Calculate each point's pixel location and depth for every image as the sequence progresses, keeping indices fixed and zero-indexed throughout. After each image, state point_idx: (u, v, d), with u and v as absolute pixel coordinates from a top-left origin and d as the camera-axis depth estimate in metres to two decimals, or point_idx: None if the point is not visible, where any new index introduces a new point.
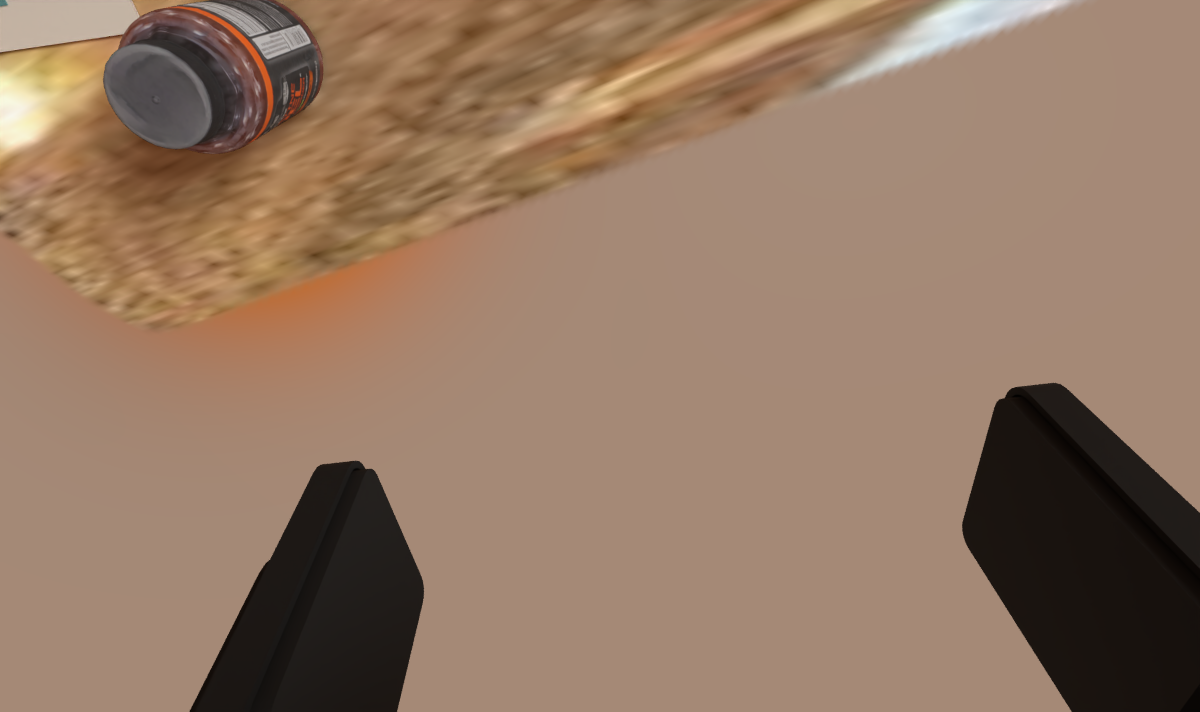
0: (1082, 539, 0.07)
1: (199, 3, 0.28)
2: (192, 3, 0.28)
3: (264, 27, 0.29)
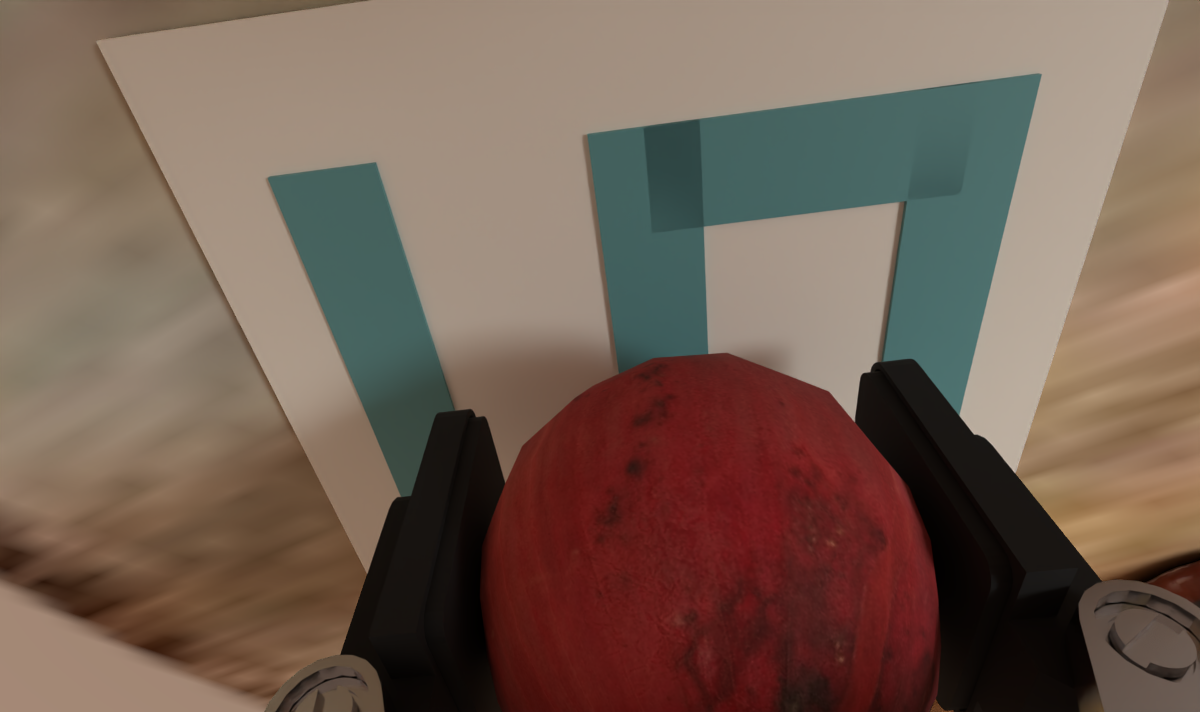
0: (914, 495, 0.08)
1: None
2: None
3: None
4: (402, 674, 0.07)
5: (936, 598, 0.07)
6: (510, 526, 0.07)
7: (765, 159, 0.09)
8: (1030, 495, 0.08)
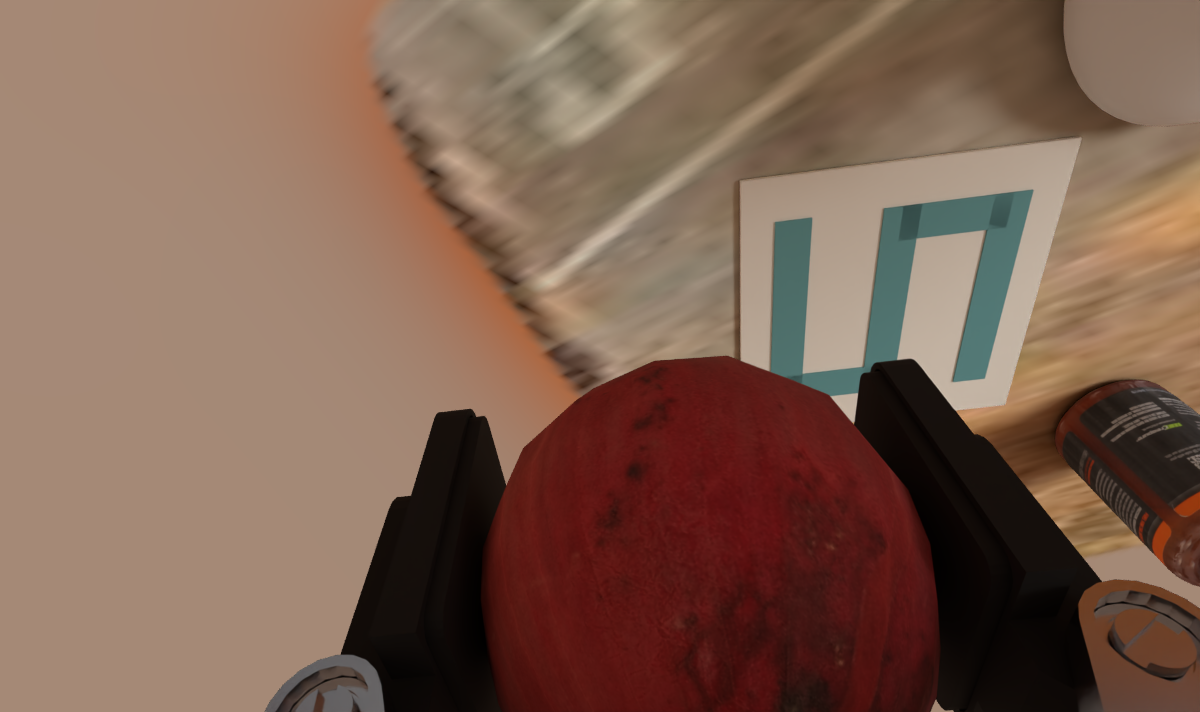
0: (913, 495, 0.08)
1: None
2: None
3: None
4: (403, 674, 0.07)
5: (935, 601, 0.07)
6: (511, 528, 0.07)
7: (940, 216, 0.28)
8: (1030, 495, 0.08)
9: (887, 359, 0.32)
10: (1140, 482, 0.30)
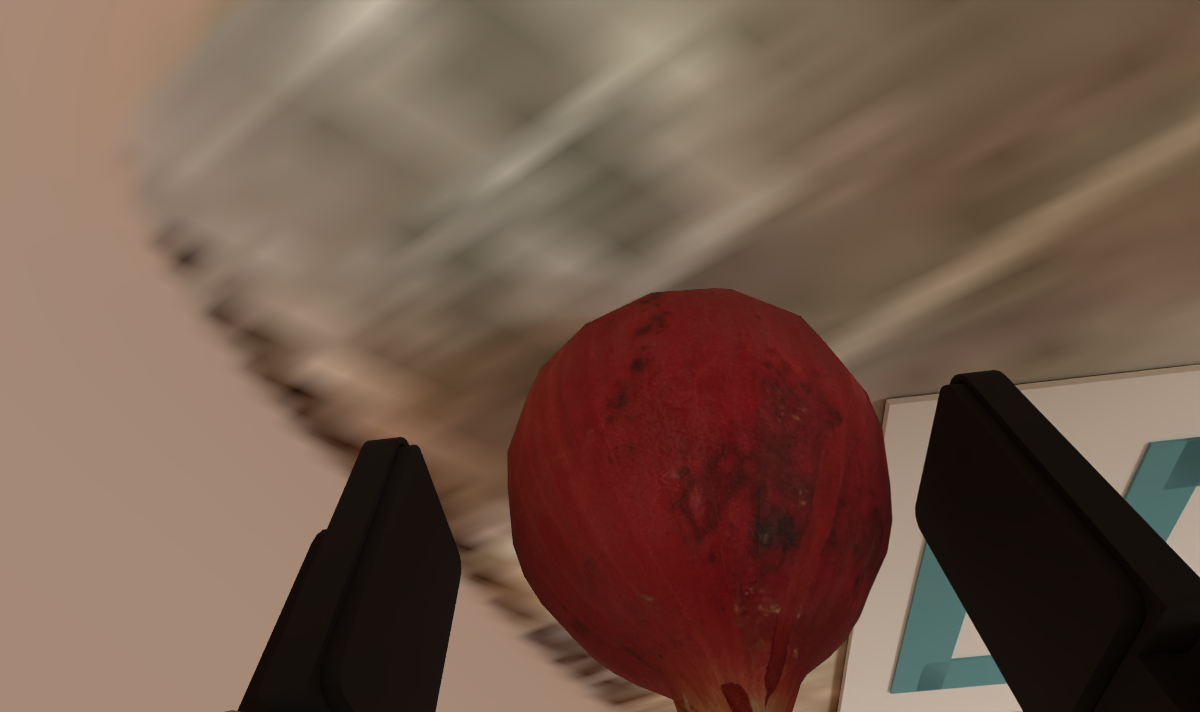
0: (1012, 517, 0.08)
1: None
2: None
3: None
4: None
5: (885, 471, 0.08)
6: (535, 421, 0.09)
7: None
8: None
9: None
10: None
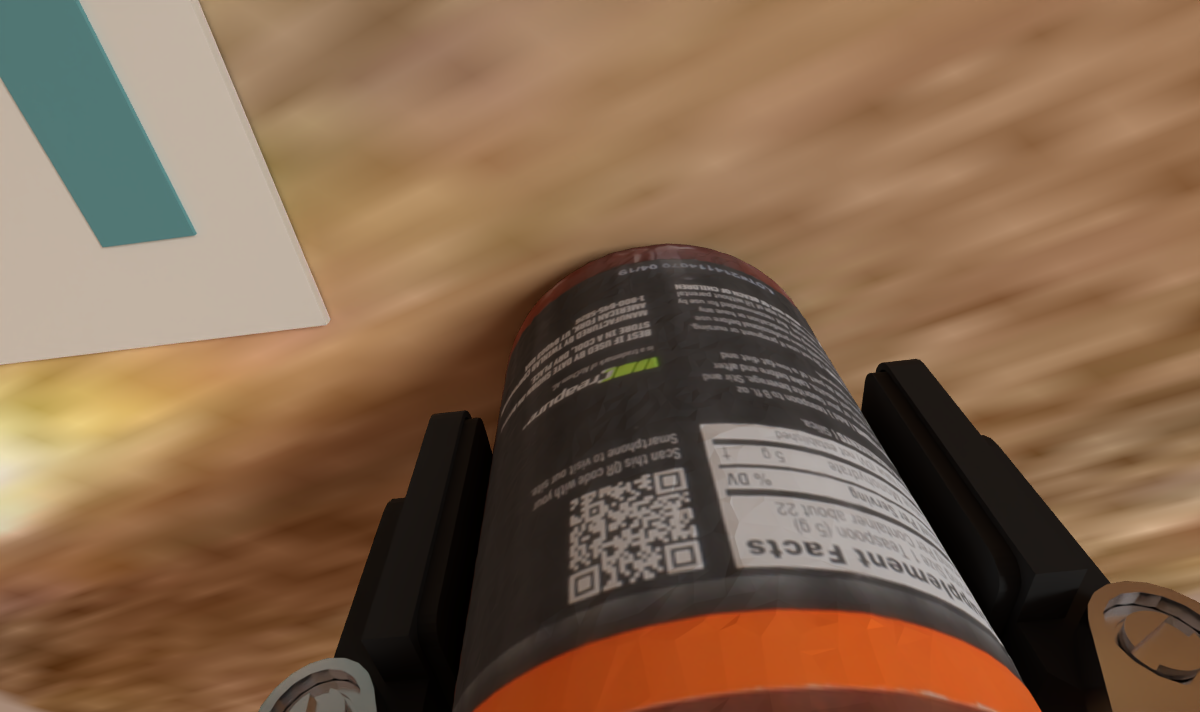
0: (920, 496, 0.08)
1: (754, 478, 0.06)
2: (730, 486, 0.06)
3: (901, 481, 0.07)
4: (395, 677, 0.07)
5: None
6: None
7: None
8: (1037, 496, 0.08)
9: None
10: (472, 590, 0.07)
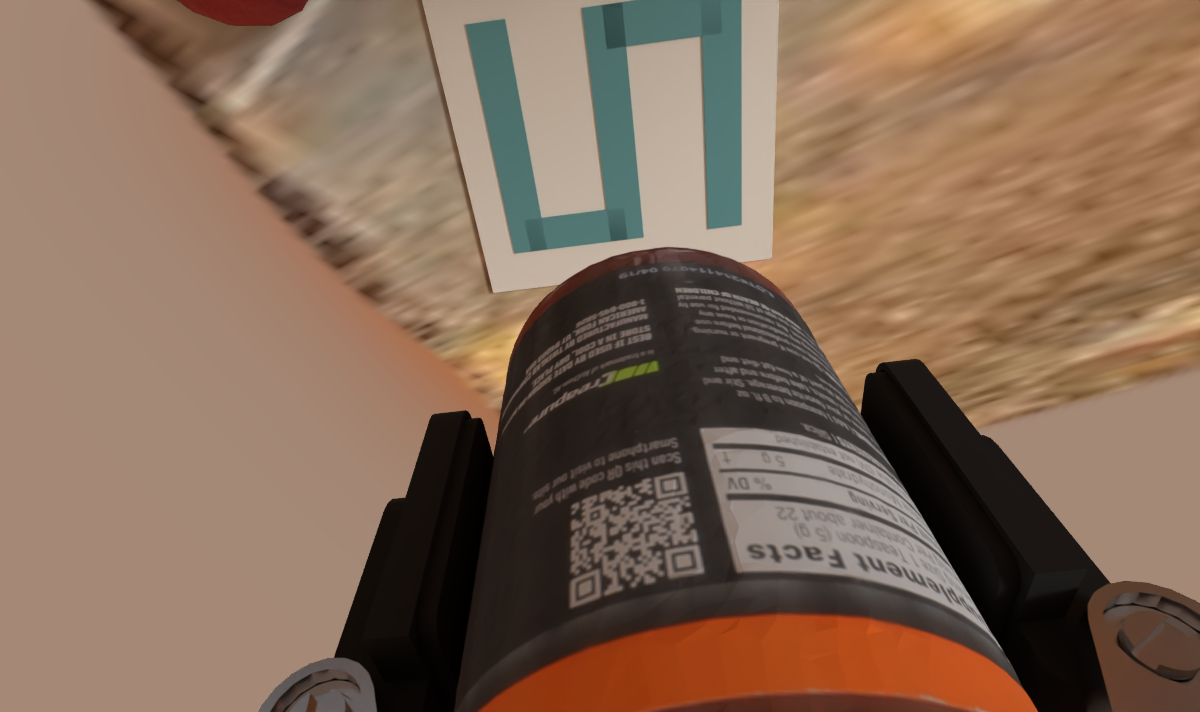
0: (920, 496, 0.08)
1: (754, 483, 0.06)
2: (730, 491, 0.06)
3: (900, 484, 0.08)
4: (396, 677, 0.07)
5: None
6: None
7: (647, 18, 0.26)
8: (1037, 496, 0.08)
9: (631, 201, 0.30)
10: (473, 593, 0.07)
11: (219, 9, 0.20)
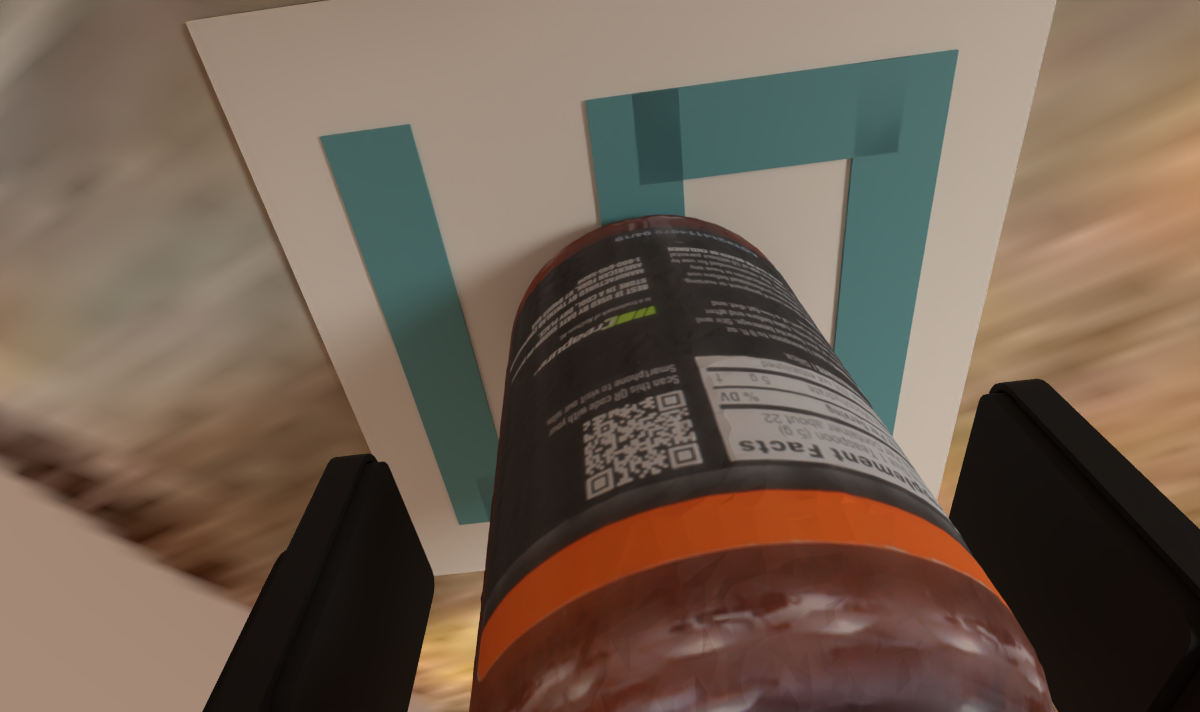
0: (1062, 532, 0.08)
1: (743, 396, 0.07)
2: (723, 402, 0.07)
3: (872, 409, 0.08)
4: None
5: None
6: None
7: (733, 122, 0.11)
8: None
9: None
10: (493, 516, 0.08)
11: None
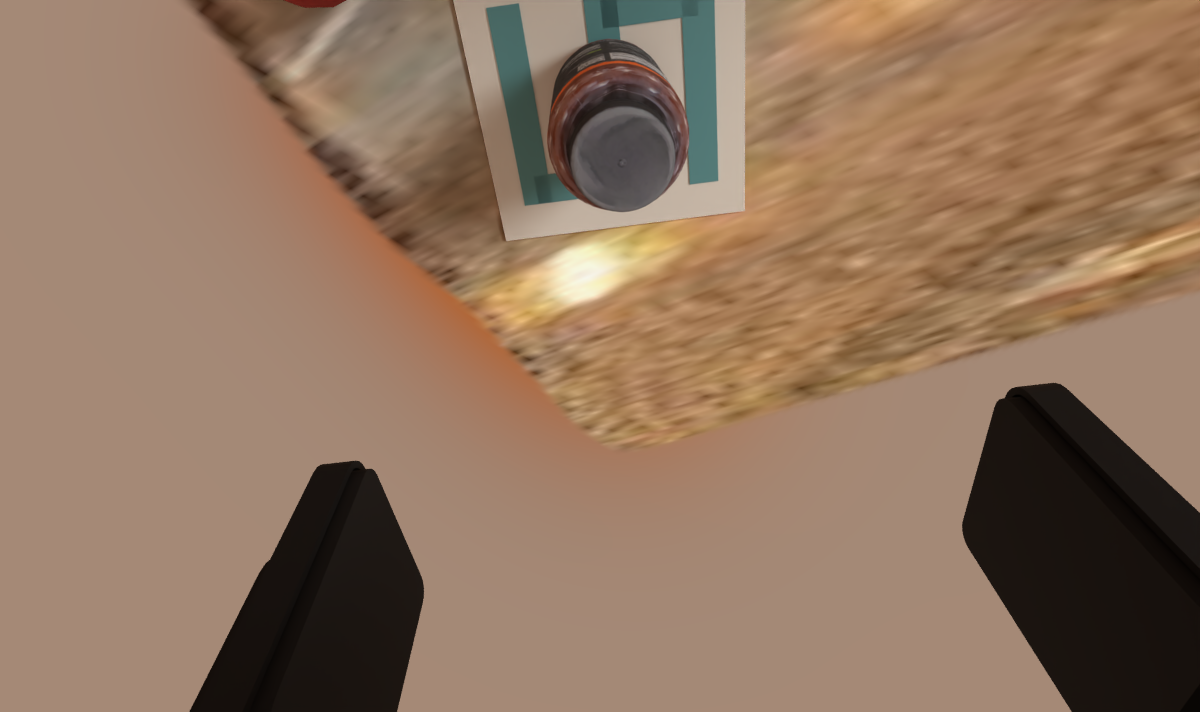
0: (1082, 539, 0.07)
1: (619, 55, 0.27)
2: (613, 55, 0.26)
3: (665, 77, 0.28)
4: None
5: None
6: None
7: (636, 2, 0.31)
8: None
9: None
10: None
11: None
